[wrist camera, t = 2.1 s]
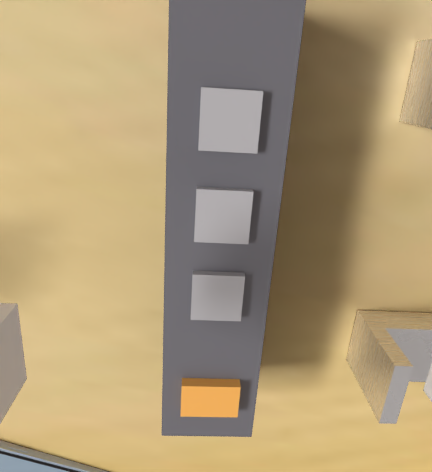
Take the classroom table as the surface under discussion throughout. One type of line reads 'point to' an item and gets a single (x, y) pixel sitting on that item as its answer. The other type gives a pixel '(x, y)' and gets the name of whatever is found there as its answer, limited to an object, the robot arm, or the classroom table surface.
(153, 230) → the classroom table surface
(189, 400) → the power strip
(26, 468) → the smartphone
